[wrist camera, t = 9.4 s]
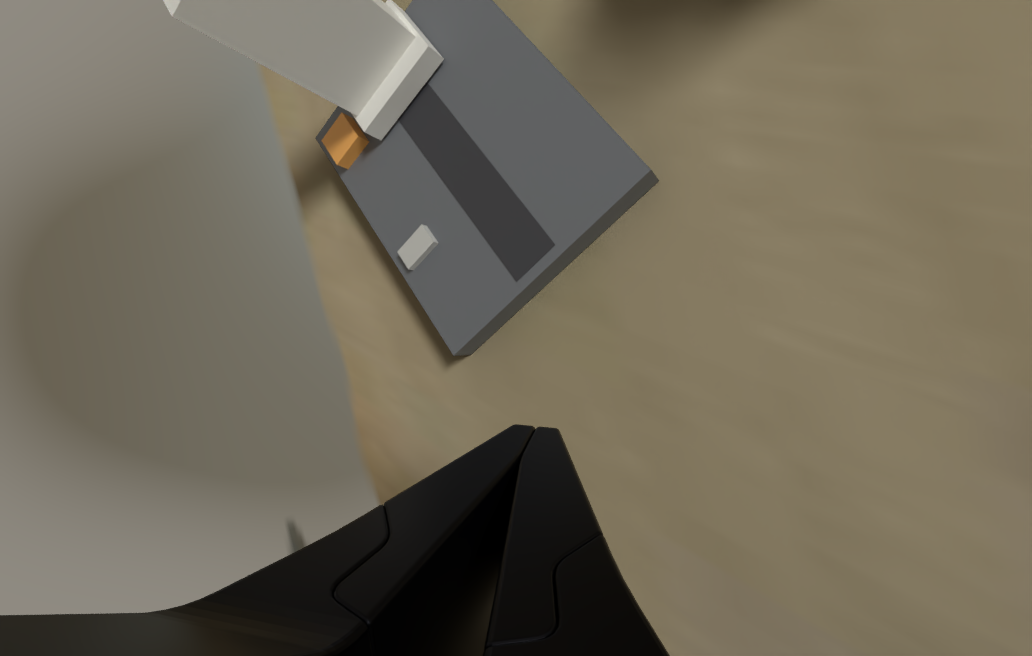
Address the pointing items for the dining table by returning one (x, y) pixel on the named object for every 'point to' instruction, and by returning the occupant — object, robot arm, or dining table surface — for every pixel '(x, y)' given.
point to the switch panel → (485, 173)
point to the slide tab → (327, 49)
